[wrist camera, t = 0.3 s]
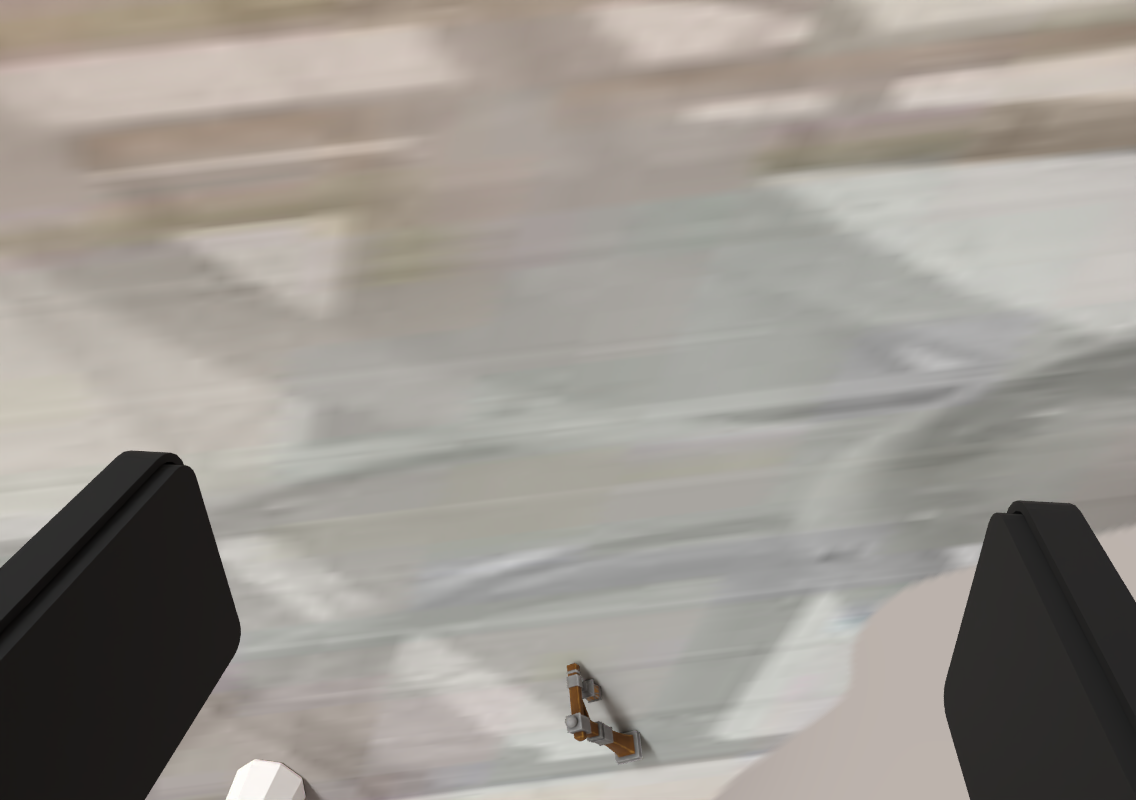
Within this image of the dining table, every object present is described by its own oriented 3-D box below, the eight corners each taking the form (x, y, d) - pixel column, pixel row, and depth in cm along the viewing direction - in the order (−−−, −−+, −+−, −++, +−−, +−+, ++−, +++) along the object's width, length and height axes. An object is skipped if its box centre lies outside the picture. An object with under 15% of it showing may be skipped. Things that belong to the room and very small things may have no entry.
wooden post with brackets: (576, 655, 53) (582, 731, 50) (635, 692, 58) (643, 762, 55) (551, 663, 53) (555, 738, 50) (611, 698, 59) (618, 768, 56)
